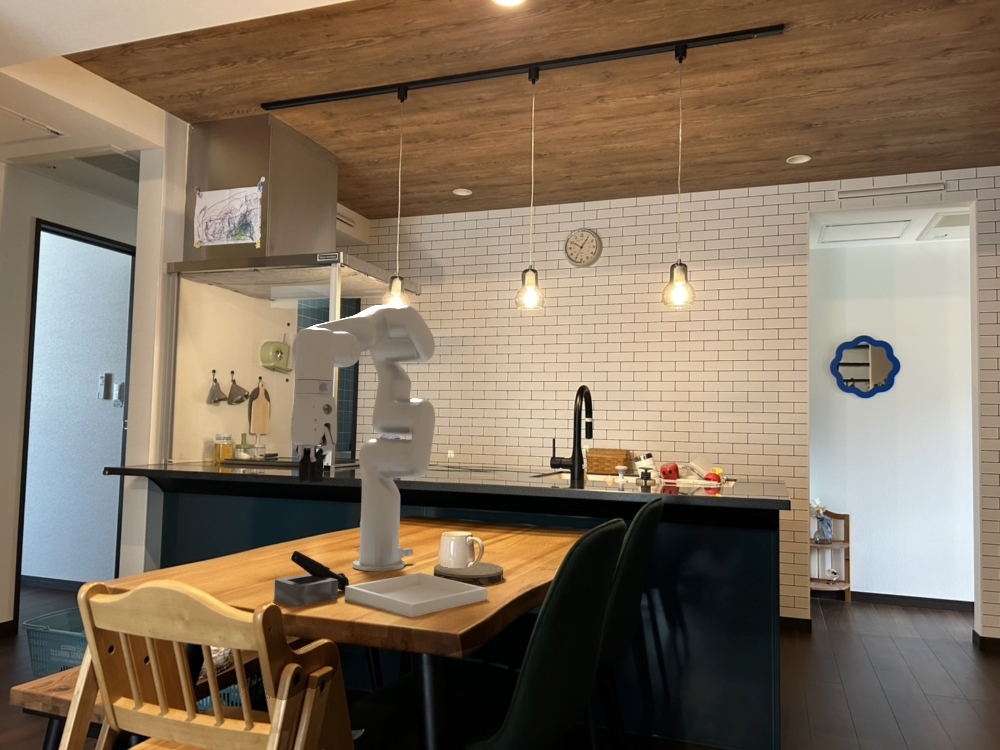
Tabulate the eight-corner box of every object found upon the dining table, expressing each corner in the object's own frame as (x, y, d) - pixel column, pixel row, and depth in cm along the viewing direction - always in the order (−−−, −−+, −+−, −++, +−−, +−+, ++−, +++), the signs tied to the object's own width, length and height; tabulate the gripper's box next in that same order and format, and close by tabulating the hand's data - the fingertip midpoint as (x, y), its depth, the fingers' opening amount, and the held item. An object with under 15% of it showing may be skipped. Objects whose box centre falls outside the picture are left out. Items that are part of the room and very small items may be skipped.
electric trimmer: (282, 561, 152) (291, 547, 153) (337, 588, 162) (345, 574, 163) (292, 567, 149) (301, 552, 150) (347, 594, 159) (355, 579, 160)
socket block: (313, 592, 159) (314, 573, 159) (337, 600, 153) (338, 579, 153) (274, 600, 152) (275, 579, 152) (297, 607, 146) (298, 586, 147)
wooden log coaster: (465, 571, 186) (465, 558, 187) (516, 581, 176) (517, 568, 177) (418, 580, 174) (419, 567, 174) (471, 592, 164) (471, 578, 164)
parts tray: (419, 586, 167) (420, 572, 167) (486, 603, 154) (487, 588, 154) (344, 601, 152) (345, 586, 152) (411, 621, 139) (412, 604, 139)
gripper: (353, 390, 152) (350, 483, 151) (307, 390, 163) (303, 477, 162) (321, 388, 147) (318, 485, 146) (275, 389, 157) (272, 479, 156)
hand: (310, 480), depth 154 cm, fingers closed
